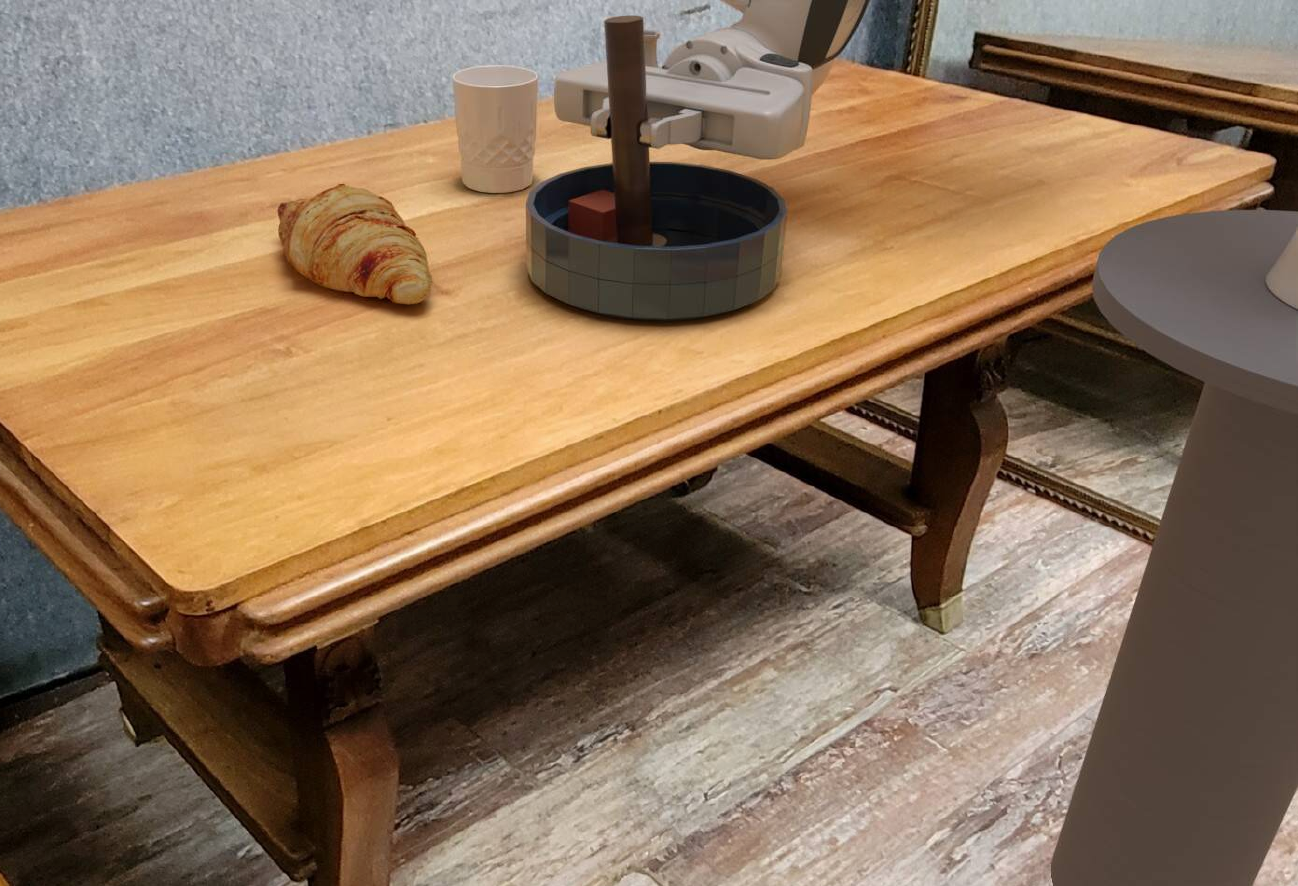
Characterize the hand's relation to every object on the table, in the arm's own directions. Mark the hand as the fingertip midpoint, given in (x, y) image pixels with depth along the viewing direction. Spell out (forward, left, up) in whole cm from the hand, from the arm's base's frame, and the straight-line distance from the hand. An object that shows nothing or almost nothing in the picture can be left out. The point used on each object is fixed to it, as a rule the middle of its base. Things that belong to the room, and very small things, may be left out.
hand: (623, 131), depth 92 cm
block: (+5, -4, -11) cm, 13 cm away
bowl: (-1, -3, -12) cm, 12 cm away
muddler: (-1, -1, -10) cm, 10 cm away
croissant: (+19, +11, -12) cm, 25 cm away
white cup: (+23, -14, -12) cm, 30 cm away
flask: (+21, -37, -12) cm, 44 cm away
